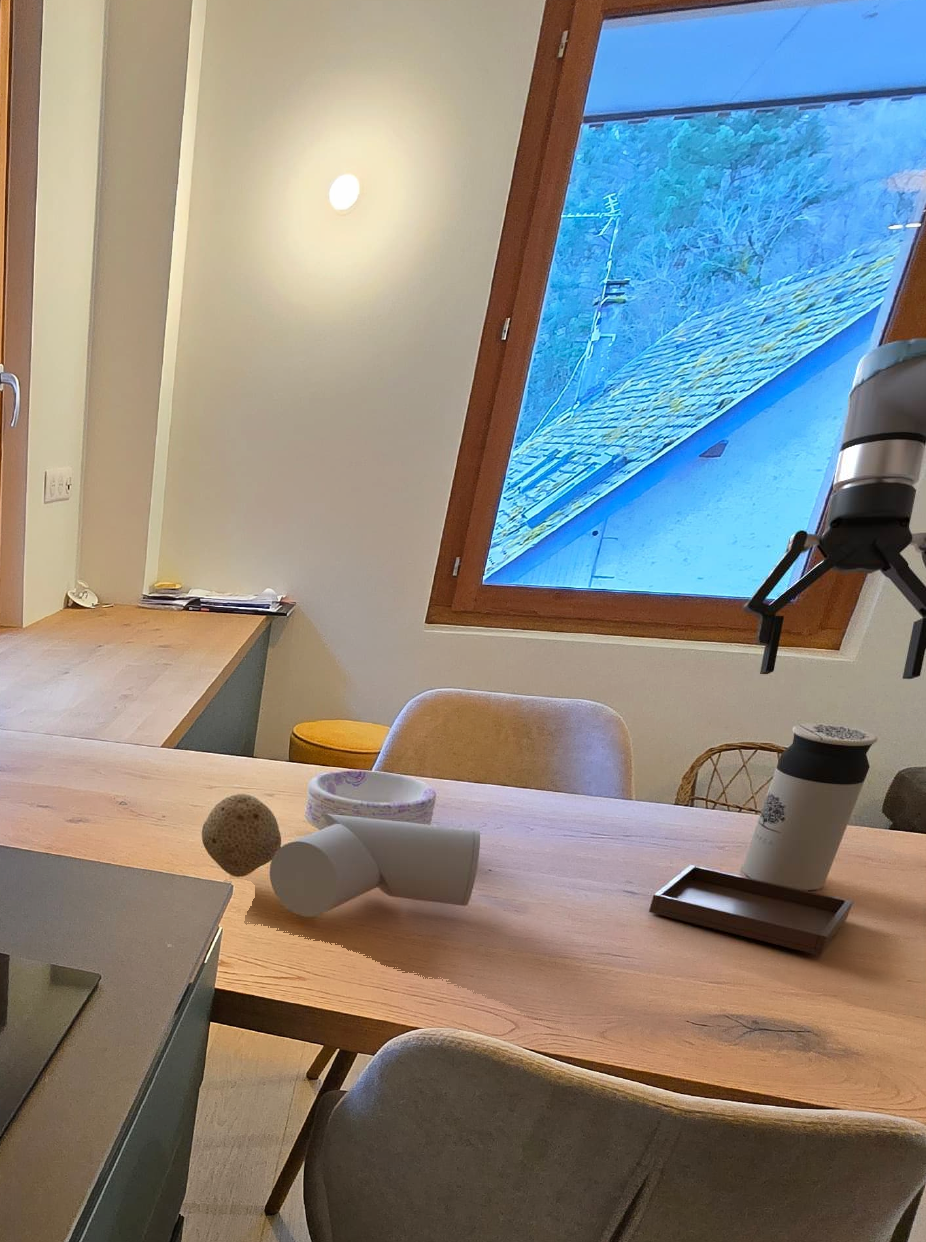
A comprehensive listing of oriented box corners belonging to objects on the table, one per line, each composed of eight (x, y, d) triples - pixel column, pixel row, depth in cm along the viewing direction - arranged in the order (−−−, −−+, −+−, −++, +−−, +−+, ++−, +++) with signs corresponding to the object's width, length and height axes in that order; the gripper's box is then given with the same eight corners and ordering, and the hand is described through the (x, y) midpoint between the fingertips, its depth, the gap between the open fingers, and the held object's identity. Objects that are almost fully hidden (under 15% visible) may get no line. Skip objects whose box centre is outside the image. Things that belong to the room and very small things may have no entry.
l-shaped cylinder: (350, 841, 129) (250, 885, 117) (381, 766, 122) (279, 804, 111) (482, 916, 118) (386, 972, 107) (523, 838, 112) (426, 888, 101)
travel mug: (811, 871, 126) (866, 725, 118) (832, 897, 119) (892, 745, 111) (733, 862, 129) (781, 719, 121) (750, 887, 122) (802, 738, 114)
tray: (846, 918, 113) (853, 901, 113) (820, 955, 104) (827, 936, 104) (685, 881, 124) (690, 864, 123) (648, 912, 115) (653, 894, 114)
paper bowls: (337, 814, 145) (346, 759, 142) (446, 843, 135) (458, 784, 131) (278, 843, 136) (286, 785, 132) (390, 876, 126) (401, 814, 122)
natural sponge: (180, 868, 126) (187, 791, 122) (234, 853, 131) (242, 777, 126) (234, 895, 119) (244, 813, 115) (289, 878, 123) (300, 799, 119)
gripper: (1000, 495, 119) (960, 683, 121) (734, 501, 129) (703, 674, 132) (1033, 475, 112) (991, 675, 114) (750, 483, 122) (717, 666, 125)
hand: (837, 675), depth 123 cm, fingers open, 13 cm apart
